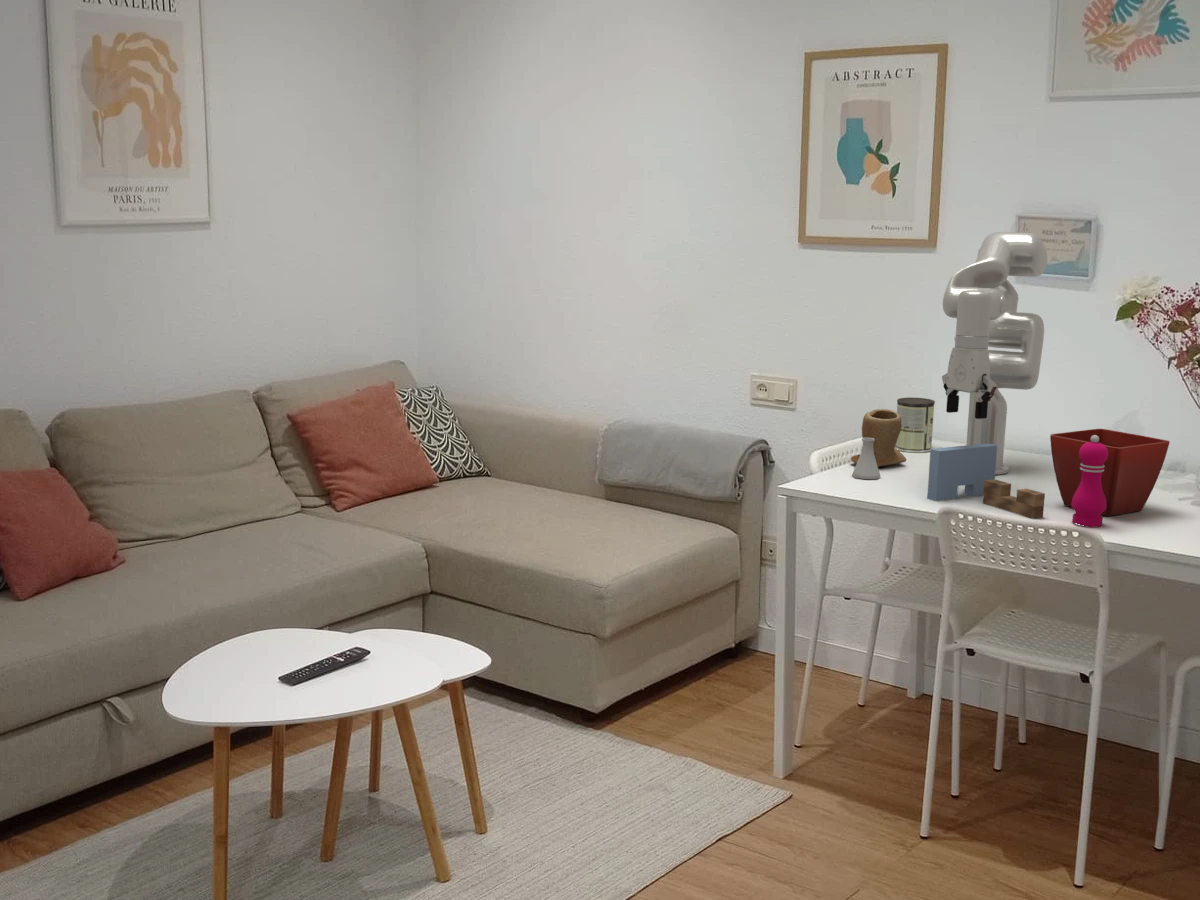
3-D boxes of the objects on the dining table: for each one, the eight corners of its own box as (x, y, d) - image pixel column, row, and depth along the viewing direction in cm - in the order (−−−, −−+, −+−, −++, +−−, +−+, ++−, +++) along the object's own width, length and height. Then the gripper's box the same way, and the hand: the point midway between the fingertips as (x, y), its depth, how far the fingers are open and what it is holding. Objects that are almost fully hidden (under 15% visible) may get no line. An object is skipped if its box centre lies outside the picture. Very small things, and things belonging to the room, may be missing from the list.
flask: (880, 481, 330) (882, 442, 328) (851, 479, 331) (853, 440, 329) (880, 475, 337) (882, 436, 335) (851, 473, 338) (853, 435, 336)
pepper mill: (1064, 519, 294) (1072, 432, 290) (1095, 519, 294) (1103, 432, 290) (1078, 528, 287) (1086, 438, 283) (1110, 527, 287) (1118, 438, 283)
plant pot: (1094, 495, 318) (1100, 427, 315) (1164, 512, 302) (1172, 440, 299) (1042, 504, 308) (1047, 434, 304) (1111, 522, 292) (1118, 448, 289)
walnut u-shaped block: (982, 503, 308) (984, 480, 307) (992, 501, 309) (994, 479, 308) (1033, 518, 294) (1035, 494, 293) (1042, 517, 295) (1044, 493, 294)
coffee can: (892, 445, 376) (895, 396, 374) (928, 446, 375) (931, 397, 373) (896, 452, 366) (899, 402, 363) (934, 453, 365) (937, 403, 363)
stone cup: (873, 472, 340) (877, 415, 337) (844, 463, 350) (847, 408, 347) (918, 467, 347) (921, 411, 344) (888, 459, 357) (891, 404, 354)
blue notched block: (935, 501, 309) (939, 451, 307) (927, 498, 312) (930, 448, 310) (993, 494, 317) (997, 445, 315) (984, 491, 320) (988, 443, 318)
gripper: (934, 339, 313) (929, 410, 316) (985, 347, 298) (979, 421, 301) (958, 339, 317) (953, 409, 320) (1010, 346, 301) (1004, 420, 305)
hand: (966, 415), depth 310 cm, fingers open, 9 cm apart
